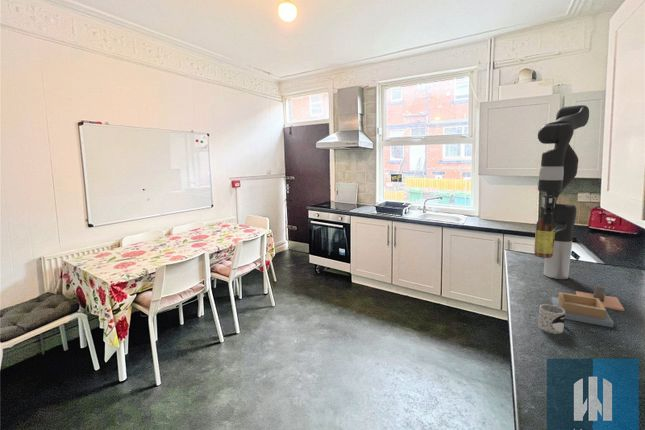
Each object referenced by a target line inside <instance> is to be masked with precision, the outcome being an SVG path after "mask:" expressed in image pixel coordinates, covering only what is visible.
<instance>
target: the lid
mask: <svg viewBox="0 0 645 430" xmlns="http://www.w3.org/2000/svg"><path fill="white" fill-rule="evenodd" d="M593 287H594V288H593V293H590V292H585V291H577V290H575V295H580V296H586V297H593V298H599V300H600V301H601V303H602V304H603V306H604V308H605V309H609V310H610V309H611V310H616V311H622V312H625V308H624V306H623V304H621V302H620V300H619V299H618V297H615V296H608V295H606V290H607V288H606V287H605V286H603V285H594V286H593Z"/></svg>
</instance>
